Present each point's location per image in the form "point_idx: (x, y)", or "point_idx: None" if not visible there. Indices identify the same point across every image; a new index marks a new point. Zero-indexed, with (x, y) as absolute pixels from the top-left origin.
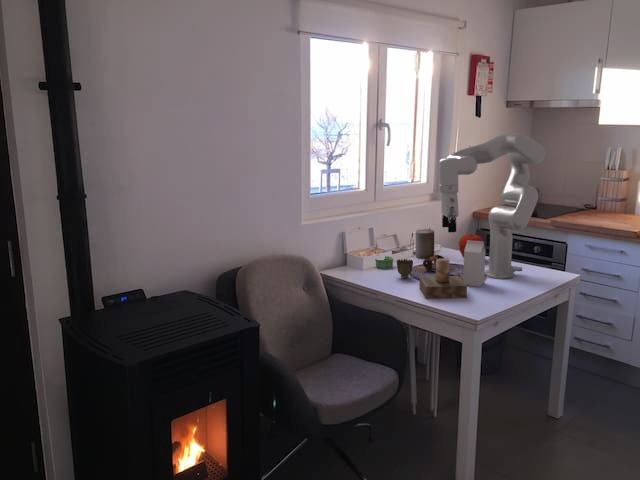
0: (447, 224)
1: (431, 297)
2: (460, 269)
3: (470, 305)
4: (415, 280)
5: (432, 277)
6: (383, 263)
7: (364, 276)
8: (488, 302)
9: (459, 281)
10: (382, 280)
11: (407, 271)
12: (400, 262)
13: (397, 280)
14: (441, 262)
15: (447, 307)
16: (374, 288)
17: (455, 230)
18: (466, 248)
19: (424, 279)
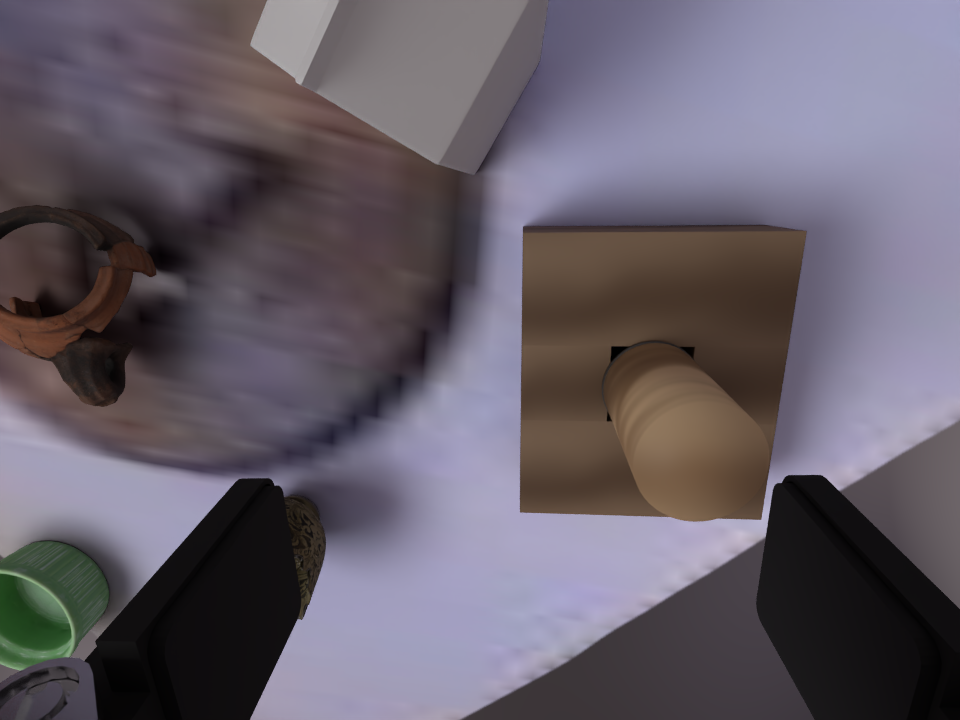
0: (263, 563)
1: None
2: (66, 92)
3: (923, 240)
4: (355, 463)
5: (542, 432)
6: (87, 619)
7: (275, 701)
8: (899, 93)
9: (678, 261)
10: (351, 631)
11: (321, 537)
12: None
13: (353, 559)
14: (756, 485)
15: (915, 390)
16: (497, 686)
17: (830, 504)
18: (410, 124)
19: (585, 493)
